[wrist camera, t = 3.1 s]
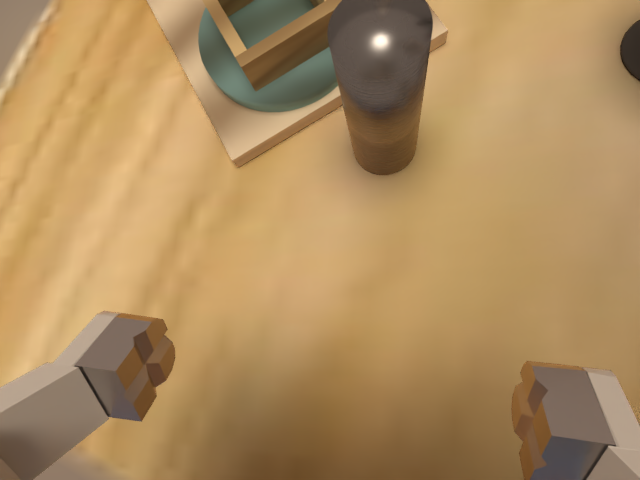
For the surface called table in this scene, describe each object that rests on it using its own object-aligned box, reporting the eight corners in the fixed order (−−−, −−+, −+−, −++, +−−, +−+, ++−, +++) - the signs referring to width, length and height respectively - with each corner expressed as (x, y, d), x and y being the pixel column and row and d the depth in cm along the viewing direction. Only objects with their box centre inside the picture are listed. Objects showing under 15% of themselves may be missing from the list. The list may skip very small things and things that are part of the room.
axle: (428, 153, 26) (453, 37, 15) (373, 186, 26) (359, 94, 15) (395, 105, 27) (397, -36, 16) (342, 137, 27) (309, 18, 16)
